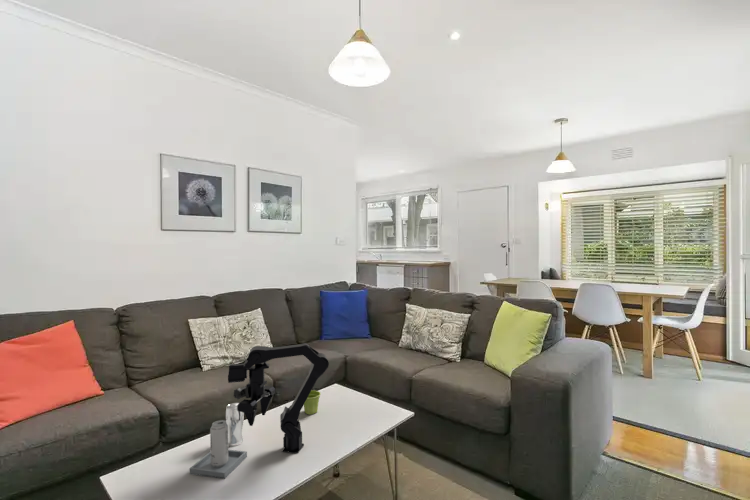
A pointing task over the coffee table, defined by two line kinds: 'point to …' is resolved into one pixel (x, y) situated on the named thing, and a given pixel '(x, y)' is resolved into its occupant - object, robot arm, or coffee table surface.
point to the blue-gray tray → (207, 469)
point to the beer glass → (234, 424)
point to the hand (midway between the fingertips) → (257, 420)
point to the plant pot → (312, 402)
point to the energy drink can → (219, 443)
